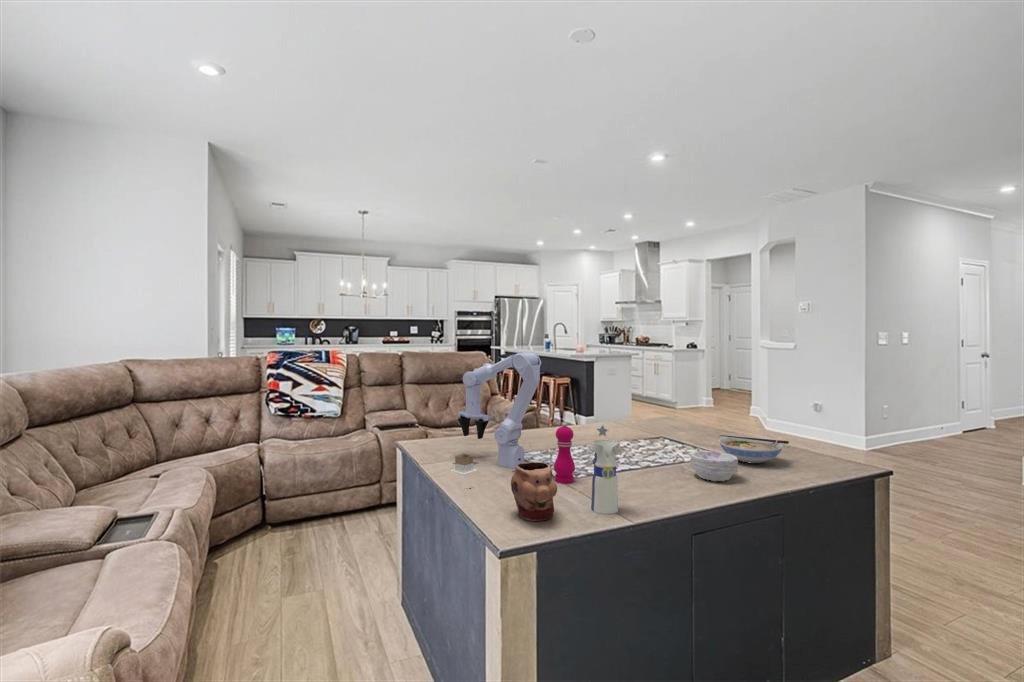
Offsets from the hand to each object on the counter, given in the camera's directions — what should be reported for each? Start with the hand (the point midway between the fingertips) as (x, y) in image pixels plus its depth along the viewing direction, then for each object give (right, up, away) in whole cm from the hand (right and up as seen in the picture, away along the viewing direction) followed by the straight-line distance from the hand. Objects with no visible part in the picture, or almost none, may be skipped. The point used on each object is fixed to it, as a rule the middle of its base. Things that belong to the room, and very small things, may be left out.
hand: (473, 437), depth 194 cm
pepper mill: (+33, -10, -24) cm, 42 cm away
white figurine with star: (+42, -11, -51) cm, 67 cm away
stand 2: (-2, -10, -16) cm, 19 cm away
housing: (-2, -9, -16) cm, 18 cm away
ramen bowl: (+108, -10, +1) cm, 108 cm away
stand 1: (-2, -10, -7) cm, 12 cm away
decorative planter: (+21, -11, -55) cm, 59 cm away
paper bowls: (+85, -10, -21) cm, 88 cm away
